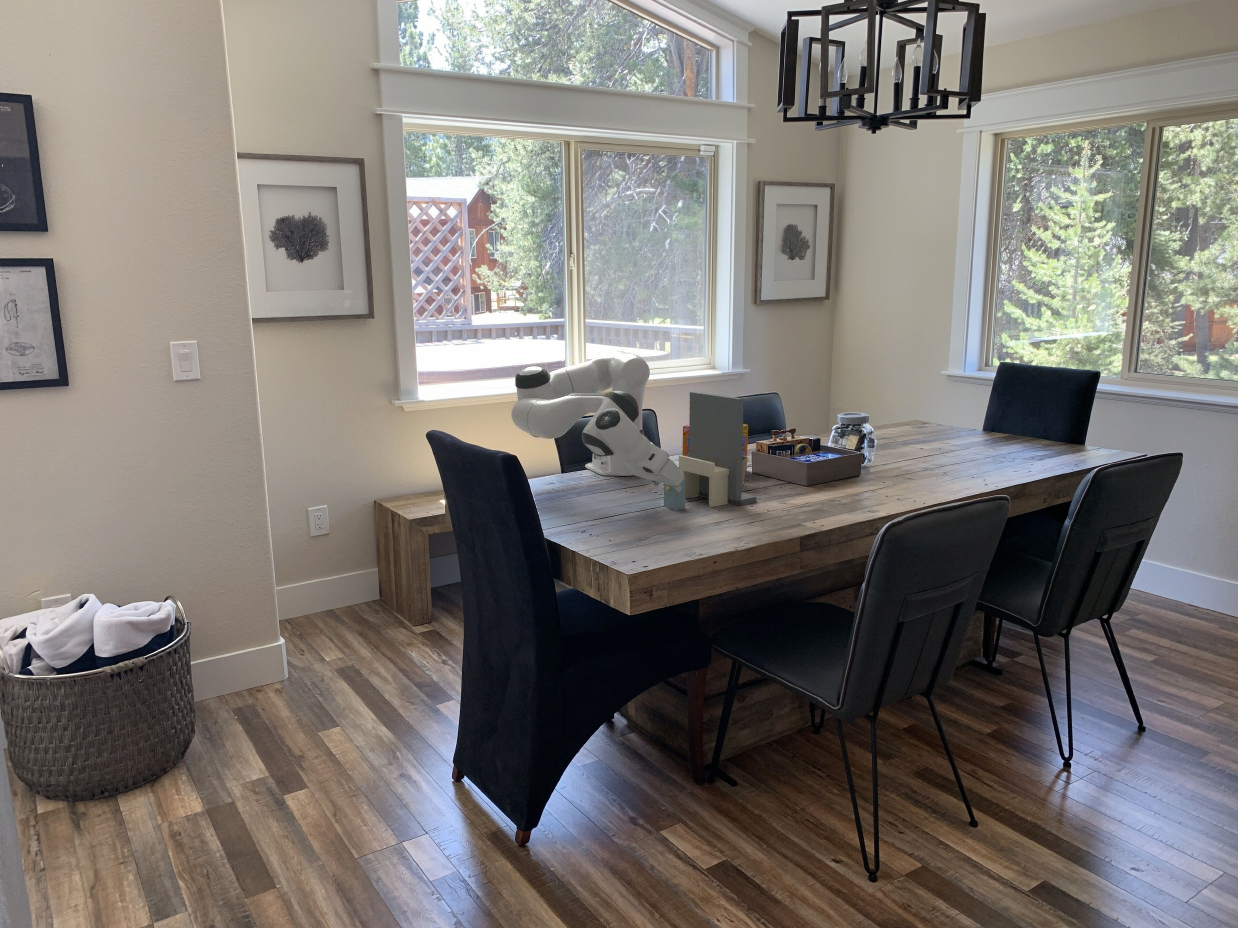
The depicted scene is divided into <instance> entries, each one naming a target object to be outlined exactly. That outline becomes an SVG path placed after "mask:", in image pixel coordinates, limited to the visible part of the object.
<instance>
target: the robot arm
mask: <svg viewBox="0 0 1238 928" xmlns="http://www.w3.org/2000/svg"><path fill="white" fill-rule="evenodd" d="M650 372H651V370H650V366H649V364H648V363H647V362H646V360H645V359H644V358H642V356H640V355H638V354H635V353H630V352H626V351H622V350H621V351H620V350H617V351H613V352H611V353H610V352H609V353H607V354H604V355H602V356H598V357H596V358H593V359H591V360H588V361H585V362H581V363H578V364H574V365H570V366H565V367H562V368H559V369H555V370H553V371H550V372H548V371H547V370H546V369H545V368H544V367H542V366H528V367H525V368H523V369H520V370H519V371H518V372H517V373H516V375H515V378H514V380H515V382H514V385H515V387H516V395H517V402H516V403H515V404H514V405H513V407H512V409H511V420H512V422H513V424H514V425H515V426H516V428H518V429H519V430H521V431H523V432H524V433H526V434H529V435H530V436H531V437H533V438H541V439H544V440H545V439H546V440H552V439H557V438H561V437H562V436H564V435H565V434H566V433H567V432H568V431H569V430H570V429H571V428H573V426H574V425H575V424H576V423H577V422H579V420H581V419H582V418H584V416H587V415H588V414H594V415H593V416H592V417H591V418H590V420H589V421H588V423H587V424H586V425H585V427H584V429H583V430H582V431H581V440H582V442H583V445H584V446H585V448H587V450H589V451H590V452H591V453H592V457H591V458H592V459H591V460H592V462H588V463H586V464H585V468H586V469H587V470H590V471H592V472H594V473H597V474H598V475H601V476H623V477H624V476H625V477H626V476H629V477H630V476H636V477H640V478H643V479H644V480H647V481H649V483H651V484H652V485H653V486H656V487H658V486H659V484H660V483H661V484H663V485H664V484H667V485H670V486H673V488H672V489H673V490H674V491H676V492H680V491H681V490H682V487H681V486H680V484H681V483H682V481H683V480H684V475H683V473H682V472H681V470H680V469H679V466H678V465H677V464H676V463H675V462H674V461H673V460H672V459H671V458H670V453H668V452H667V451H666V450H665V449H662V448H660V447H658V446H656V445H655V444H654V443H653V442H651V441H650V440H649V439H648V438H647V436H645V432H644V429H643V404H644V403H643V402H644V397H645V391H646V387H647V382H648V381H649V379H650V374H651V373H650ZM611 389H612V390H611ZM607 390H611V391H609V392H605V391H607Z"/></svg>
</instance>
